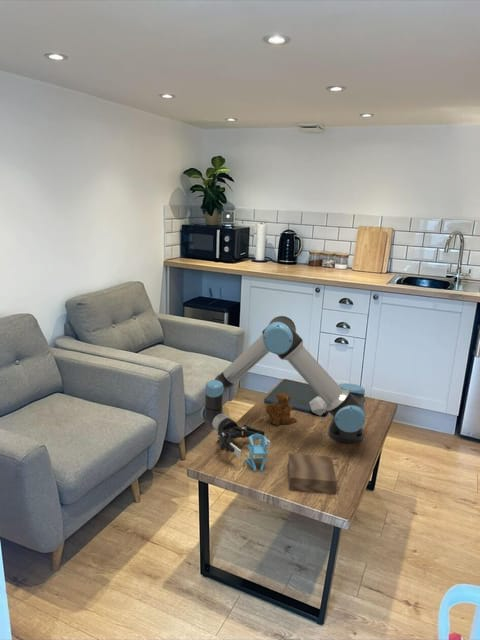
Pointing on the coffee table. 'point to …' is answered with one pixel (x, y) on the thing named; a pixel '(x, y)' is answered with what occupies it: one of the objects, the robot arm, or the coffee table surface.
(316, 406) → the die
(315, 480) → the wooden square box
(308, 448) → the coffee table surface
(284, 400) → the stuffed squirrel
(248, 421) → the coffee table surface
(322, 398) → the robot arm
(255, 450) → the chair
